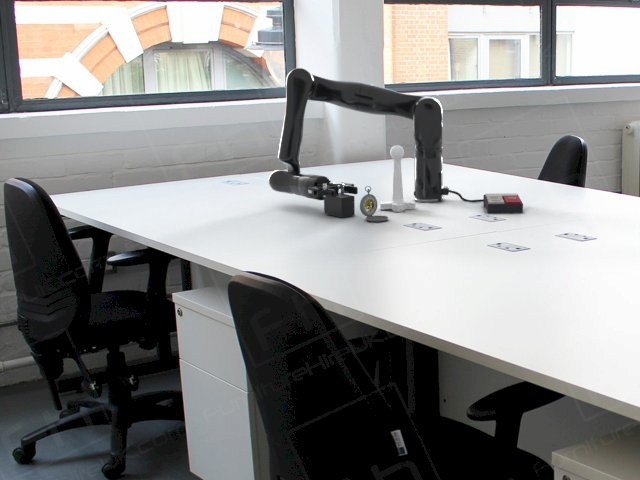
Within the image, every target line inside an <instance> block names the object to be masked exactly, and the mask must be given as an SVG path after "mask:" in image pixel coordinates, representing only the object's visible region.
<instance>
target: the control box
mask: <svg viewBox="0 0 640 480" xmlns="http://www.w3.org/2000/svg"><path fill="white" fill-rule="evenodd" d="M483 199H484V202H482V203H483V205H482V206H483V208H484V209H485V211H486V213H487V215H495V214H496V215H501V214H503V215H504V214H524V203H523V201H522V199H521V198H520V196H519V194H518V193H517V192H507V193H506V192H505V193H503V192H501V193H484V194H483Z"/></svg>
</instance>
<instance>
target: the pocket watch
mask: <svg viewBox="0 0 640 480" xmlns="http://www.w3.org/2000/svg"><path fill="white" fill-rule="evenodd" d="M364 191H365V192H367V194H364V196H362V198H361V200H360V203H359V210H360V213H361V214H362V215H363V216H365V220H366V221H368V222H373V223H380V222H385V221H388V219H389V217H388V216H386V215H375V214H376V212H377V209H378V200H377V198H376V196H375V195H373V194H371V191H372V187H371V186H370V185H366V186H365V187H364Z"/></svg>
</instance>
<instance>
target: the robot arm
mask: <svg viewBox="0 0 640 480" xmlns="http://www.w3.org/2000/svg"><path fill="white" fill-rule="evenodd" d="M285 92H286V93H285V110H284V119H283V125H282V129H281V135H280V141H279V148H278V153H277V158H278V159H277V160H278V161H279V162H281V163H282V164H284V165H285V166H286V170H283V169H275V170H273V171H271V173H270V174H269V177H268V185H269V187H270V188H271V189H272V190H273V191H274V192H278V193H283V194H289V195H295V196H300V197H304V198H307V199H312V200H317V201H324V197H327V196H328V197H336V193H342V194H347V195H358V194H359V193H358V192H359V191H358V186H355V184H354V183H350V182H349V183H348V182H334V181H332V180H331V179H329V177H327V176H325V175H318V174H314V173H313V174H312V173H302V172H301V163H300V158H301V153H302V145H303V137H304V122H305V114H306V108H307V104H308V101H313V102H321V103H327V104H331V105H334V106H337V107H340V108H343V109H347V110H351V111H354V112H358V113H363V114H367V115H375V116H393V117H394V116H395V117H401V118H404V119H409V120H411V121H413V149H414V150H413V164H414V165H413V167H414V173H413V174H414V176H413V179H414V180H413V182H414V191H413V197H414V198H413V201H415V202H418V203H438V202H439V203H441V202H443V200H444V196H449V195H450V193H451V194H453V195H454V194H455V195H456V196H458V197H459V198H460V200H462V201H464V202H467V203H483V202H484V198H481V199H467V198H464V197H463V195H462V194H461V193H459V192H458V191H455V190H451V189H450V186H448V185H447V186H446V185H445V186H444V170H443V107H442V104H441V102H440V101H439V100H438V99H437V98H435V97H433V96H429V95H416V94H415V95H414V94H407V93H402V92H399V91H395V90H393V89H390V88H386V87H383V86H380V85H377V84H376V85H375V84H372V83H366V82H362V81H357V80H356V81H355V80H335V79H329V78H325V77H322V76H318V75H315V74H312V73H311V72H310V71H308V70H307V68H306V69H305V68H303V67H296V68H293V69H292V70H291V71H289V73H288V74H287V75H286V79H285Z"/></svg>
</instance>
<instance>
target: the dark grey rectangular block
mask: <svg viewBox="0 0 640 480" xmlns="http://www.w3.org/2000/svg"><path fill="white" fill-rule="evenodd" d="M355 205H356V204H355V195H352V194H348V193H344V194H342V193H341V192H338V193H336V197H328V196H327V197H324V200H323V213H324V214H325V215H328V216H332V217H336V218H337V217H338V218H348V217H355V215H356V214H355V213H356V211H355V210H356V209H355V207H356V206H355Z"/></svg>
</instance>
